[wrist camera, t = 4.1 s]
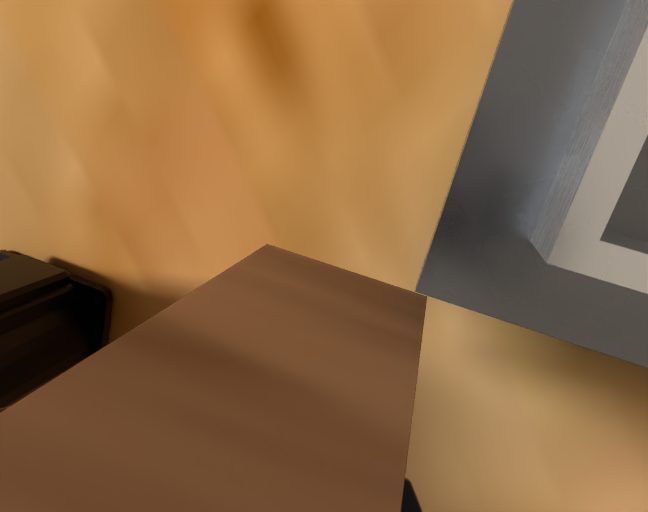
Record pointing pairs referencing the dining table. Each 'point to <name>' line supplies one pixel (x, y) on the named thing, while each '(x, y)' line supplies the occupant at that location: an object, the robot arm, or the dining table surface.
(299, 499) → the walnut post
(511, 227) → the metal square socket base
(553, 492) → the dining table surface
